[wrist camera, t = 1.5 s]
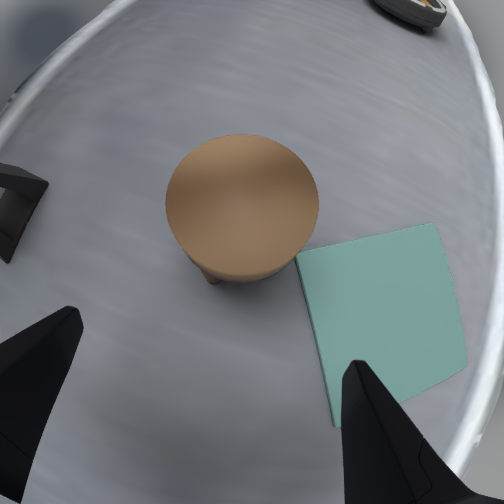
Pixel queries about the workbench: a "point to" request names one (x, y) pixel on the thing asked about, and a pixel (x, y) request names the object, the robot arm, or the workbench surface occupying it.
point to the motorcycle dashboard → (416, 12)
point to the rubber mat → (384, 311)
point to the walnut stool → (241, 207)
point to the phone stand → (17, 205)
